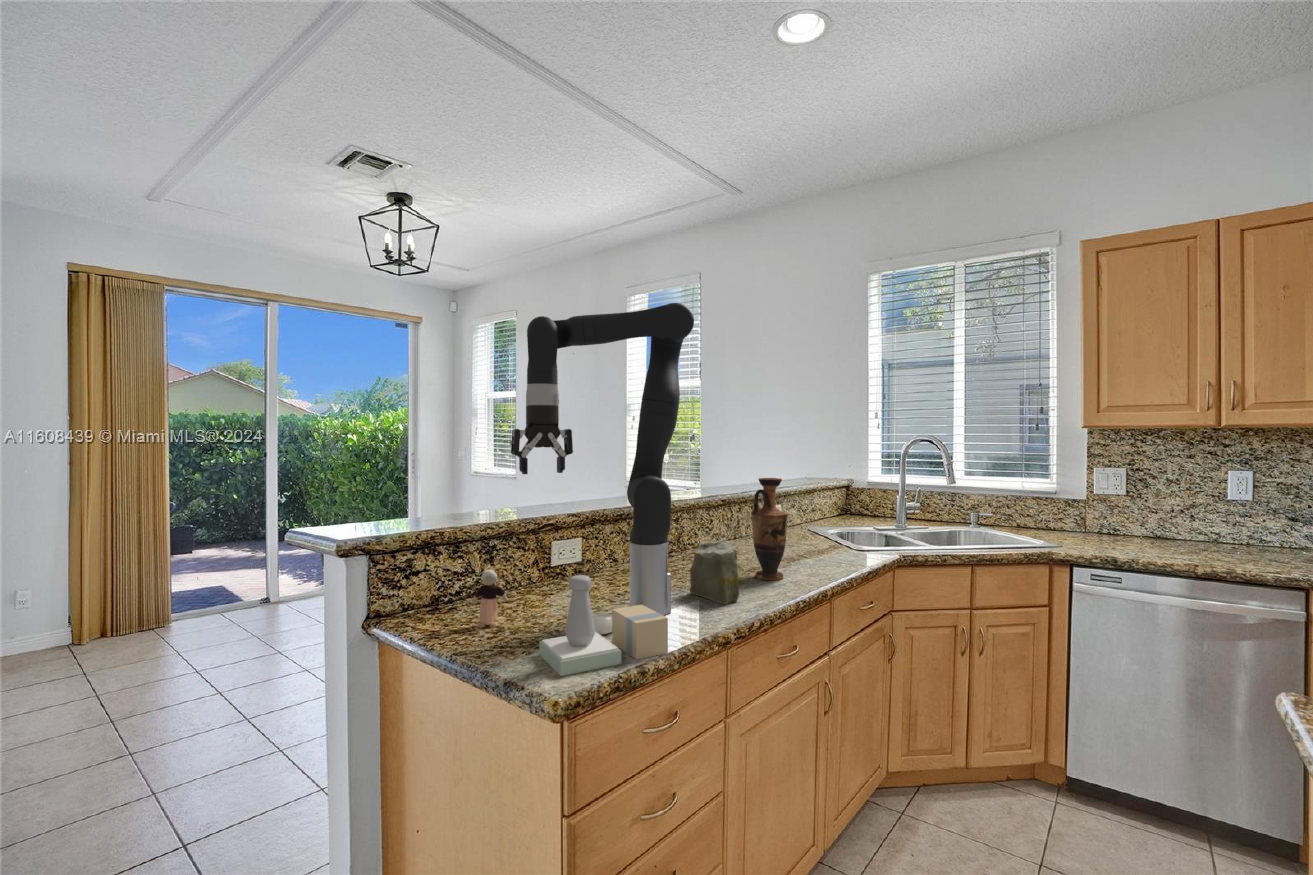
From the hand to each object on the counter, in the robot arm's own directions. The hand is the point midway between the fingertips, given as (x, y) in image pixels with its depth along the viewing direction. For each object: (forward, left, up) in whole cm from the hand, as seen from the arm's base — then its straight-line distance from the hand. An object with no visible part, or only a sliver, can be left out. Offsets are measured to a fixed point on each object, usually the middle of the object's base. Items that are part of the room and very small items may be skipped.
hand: (542, 473), depth 143 cm
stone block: (-48, +4, -34) cm, 59 cm away
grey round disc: (-8, +15, -34) cm, 38 cm away
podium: (+2, +28, -34) cm, 44 cm away
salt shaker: (+2, +28, -31) cm, 42 cm away
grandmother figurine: (+12, -1, -34) cm, 36 cm away
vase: (-73, -6, -34) cm, 81 cm away
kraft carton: (-11, +28, -34) cm, 45 cm away
